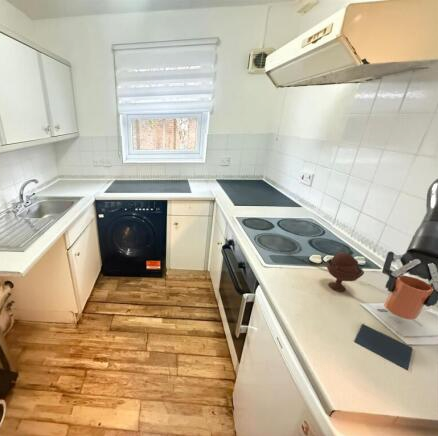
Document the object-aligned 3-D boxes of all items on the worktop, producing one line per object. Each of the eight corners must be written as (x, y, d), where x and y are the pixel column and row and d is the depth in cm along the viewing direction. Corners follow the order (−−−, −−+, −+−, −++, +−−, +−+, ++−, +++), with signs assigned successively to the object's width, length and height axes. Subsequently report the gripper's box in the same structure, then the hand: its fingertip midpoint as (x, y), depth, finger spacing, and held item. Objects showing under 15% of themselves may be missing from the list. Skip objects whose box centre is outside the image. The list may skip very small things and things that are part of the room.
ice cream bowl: (354, 301, 84) (369, 265, 78) (316, 287, 91) (328, 253, 85) (356, 287, 91) (370, 253, 85) (321, 275, 98) (332, 243, 92)
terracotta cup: (417, 311, 63) (434, 284, 59) (415, 323, 59) (432, 295, 55) (386, 299, 67) (399, 272, 64) (382, 309, 63) (396, 282, 60)
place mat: (412, 348, 67) (412, 347, 67) (407, 370, 61) (408, 369, 61) (362, 324, 74) (362, 323, 74) (354, 341, 69) (354, 341, 69)
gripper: (398, 227, 65) (372, 279, 62) (484, 247, 55) (457, 311, 52) (393, 238, 70) (369, 287, 68) (471, 259, 60) (446, 317, 57)
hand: (407, 297), depth 60 cm, fingers closed on terracotta cup, 6 cm apart
